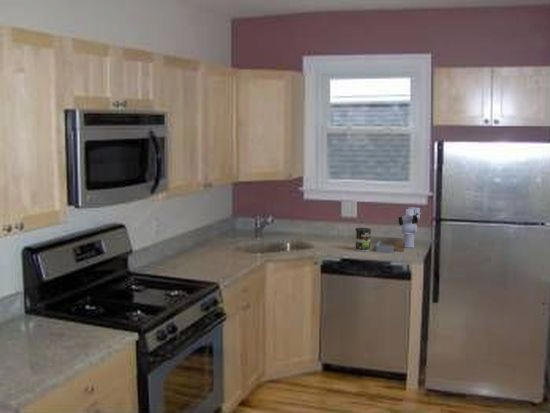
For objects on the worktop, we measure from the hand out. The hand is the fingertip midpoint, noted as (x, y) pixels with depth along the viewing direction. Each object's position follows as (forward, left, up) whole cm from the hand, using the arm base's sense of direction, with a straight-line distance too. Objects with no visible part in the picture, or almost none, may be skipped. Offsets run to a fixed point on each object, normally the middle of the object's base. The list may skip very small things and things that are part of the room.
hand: (406, 223), depth 407 cm
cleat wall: (-4, -14, -20) cm, 24 cm away
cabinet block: (-3, -4, -20) cm, 20 cm away
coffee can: (+2, -28, -20) cm, 34 cm away
